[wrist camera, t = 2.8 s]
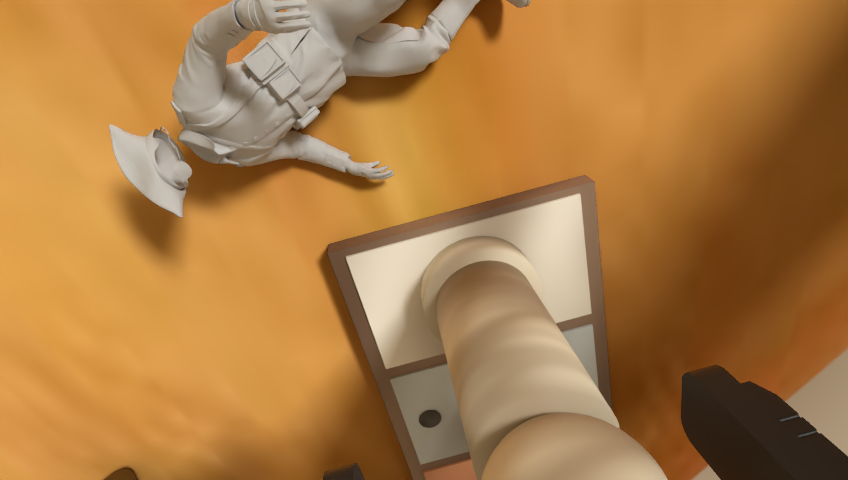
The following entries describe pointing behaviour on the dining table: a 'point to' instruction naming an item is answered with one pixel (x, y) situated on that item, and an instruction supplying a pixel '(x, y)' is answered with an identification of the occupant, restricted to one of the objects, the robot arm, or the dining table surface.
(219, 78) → the soldier figure
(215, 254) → the dining table surface
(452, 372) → the pawn
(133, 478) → the kendama
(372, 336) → the board
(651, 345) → the dining table surface
